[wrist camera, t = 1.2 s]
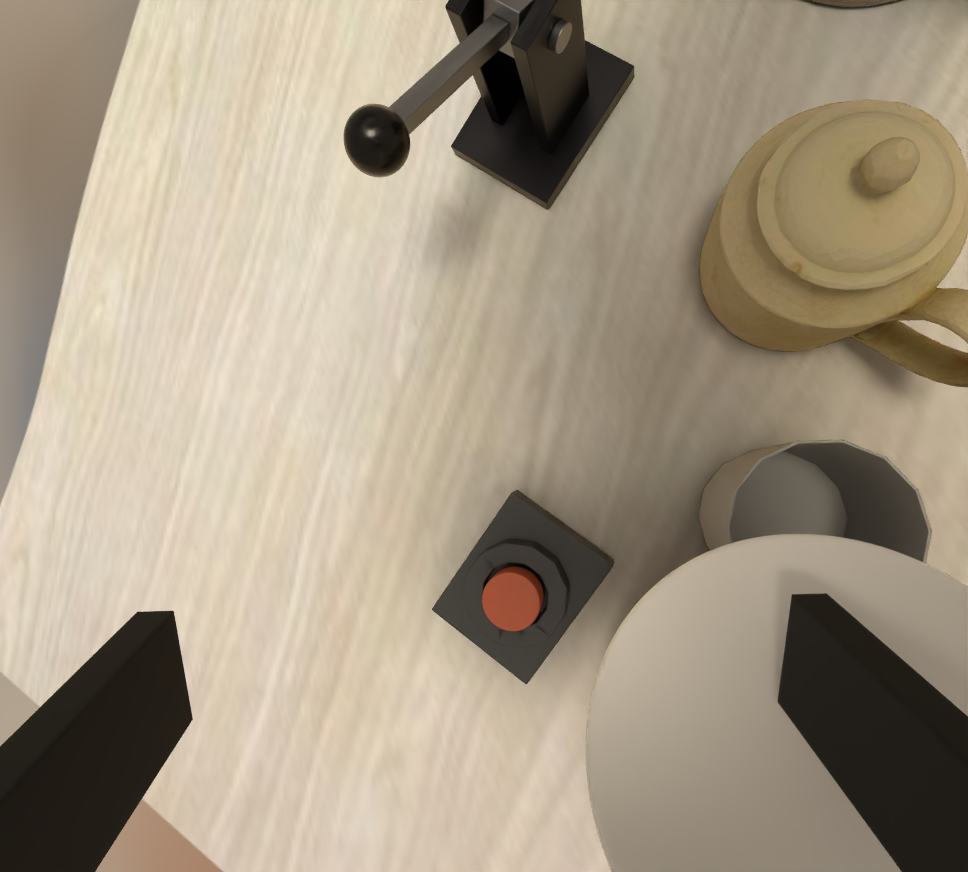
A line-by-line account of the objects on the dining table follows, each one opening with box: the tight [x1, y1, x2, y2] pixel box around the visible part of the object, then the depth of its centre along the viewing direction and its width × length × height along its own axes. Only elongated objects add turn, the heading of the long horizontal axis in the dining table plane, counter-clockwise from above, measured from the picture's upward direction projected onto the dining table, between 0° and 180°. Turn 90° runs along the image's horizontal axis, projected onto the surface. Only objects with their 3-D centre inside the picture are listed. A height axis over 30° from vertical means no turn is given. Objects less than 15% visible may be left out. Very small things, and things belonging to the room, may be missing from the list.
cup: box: [698, 440, 932, 564], centre depth 31 cm, size 8×8×10 cm
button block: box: [432, 490, 614, 684], centre depth 38 cm, size 10×8×4 cm
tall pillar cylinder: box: [586, 534, 968, 872], centre depth 24 cm, size 11×11×25 cm
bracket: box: [446, 0, 634, 209], centre depth 34 cm, size 10×8×12 cm
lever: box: [344, 0, 535, 177], centre depth 28 cm, size 14×3×3 cm, turn 146°
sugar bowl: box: [699, 100, 968, 387], centre depth 28 cm, size 15×11×15 cm
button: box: [482, 566, 543, 631], centre depth 36 cm, size 4×4×2 cm
